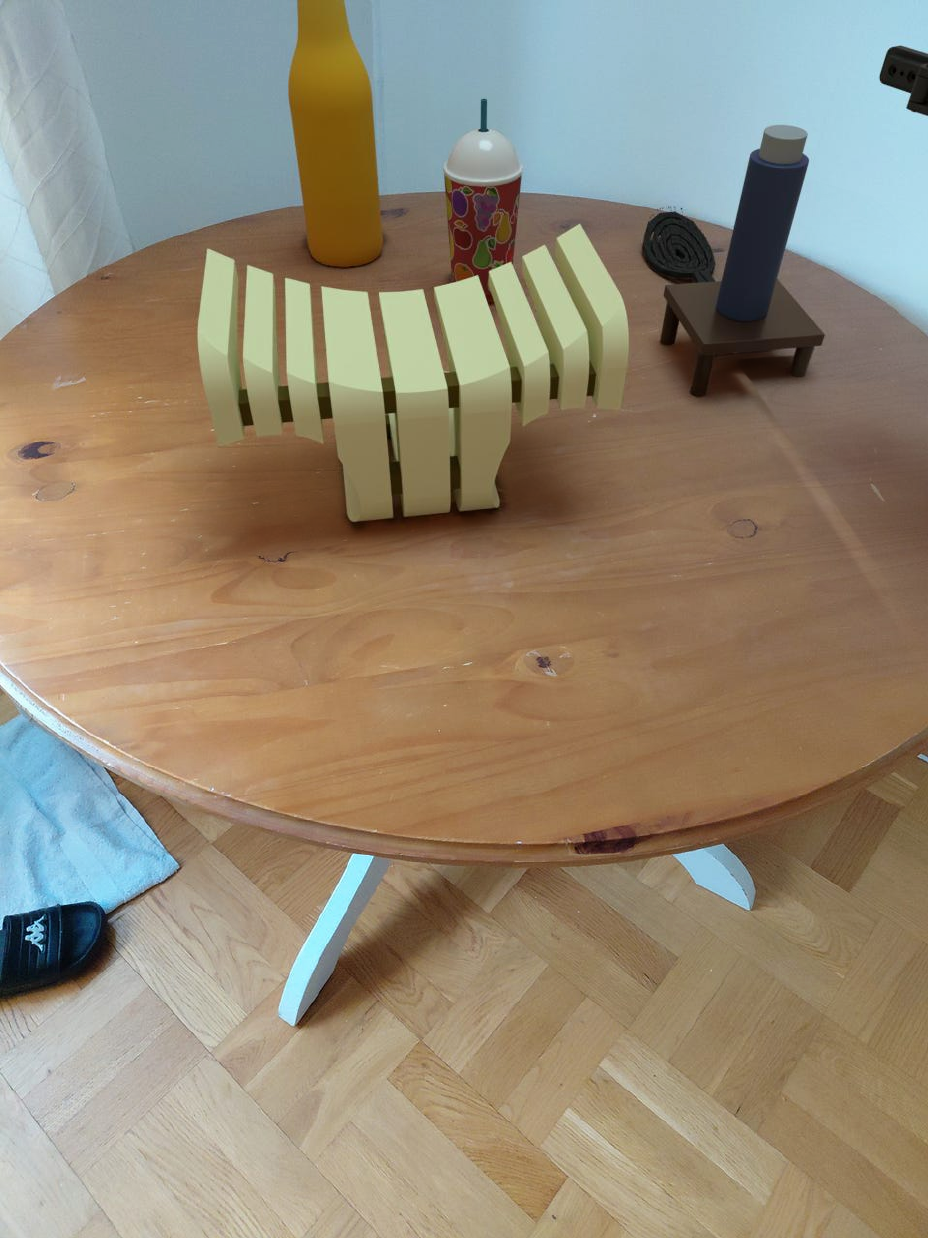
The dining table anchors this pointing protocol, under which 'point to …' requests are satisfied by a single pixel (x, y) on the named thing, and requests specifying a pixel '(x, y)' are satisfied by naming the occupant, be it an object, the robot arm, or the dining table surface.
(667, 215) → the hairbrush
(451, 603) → the dining table surface
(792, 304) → the side table
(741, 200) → the thermos flask
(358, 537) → the dining table surface
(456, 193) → the smoothie
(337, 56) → the beer bottle
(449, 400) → the slatted curved stool
